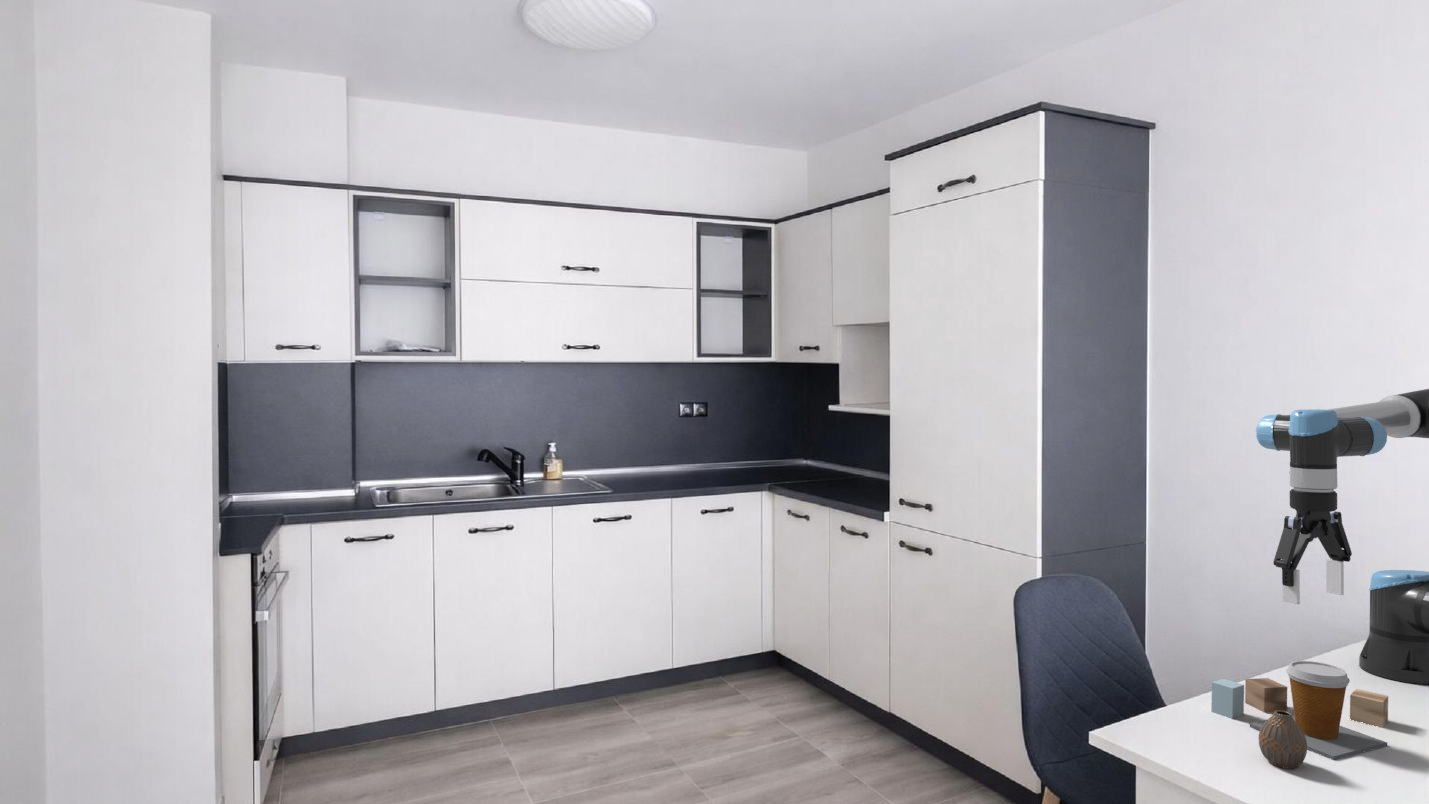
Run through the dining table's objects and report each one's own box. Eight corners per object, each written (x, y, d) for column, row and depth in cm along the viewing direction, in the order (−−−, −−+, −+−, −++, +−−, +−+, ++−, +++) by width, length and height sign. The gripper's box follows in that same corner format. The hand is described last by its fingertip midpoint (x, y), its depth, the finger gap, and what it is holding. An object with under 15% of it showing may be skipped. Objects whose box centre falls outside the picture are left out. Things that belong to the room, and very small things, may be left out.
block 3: (1355, 713, 165) (1356, 688, 165) (1387, 721, 162) (1388, 695, 162) (1349, 720, 162) (1350, 694, 162) (1382, 728, 158) (1382, 702, 158)
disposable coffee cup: (1335, 748, 148) (1336, 680, 148) (1276, 729, 156) (1277, 665, 156) (1358, 735, 153) (1358, 670, 153) (1299, 718, 161) (1299, 656, 161)
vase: (1316, 769, 141) (1317, 718, 141) (1285, 775, 139) (1286, 723, 139) (1278, 752, 148) (1279, 703, 148) (1248, 757, 146) (1249, 707, 146)
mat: (1301, 715, 164) (1301, 712, 164) (1387, 745, 150) (1387, 742, 150) (1249, 726, 159) (1249, 723, 159) (1333, 759, 145) (1333, 756, 145)
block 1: (1243, 715, 165) (1222, 708, 168) (1244, 684, 164) (1223, 678, 168) (1232, 719, 163) (1211, 712, 166) (1232, 688, 162) (1212, 682, 166)
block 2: (1267, 702, 171) (1267, 678, 171) (1286, 711, 166) (1287, 686, 166) (1245, 703, 171) (1245, 679, 171) (1264, 712, 166) (1264, 687, 166)
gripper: (1332, 482, 170) (1332, 585, 171) (1251, 492, 160) (1252, 601, 161) (1373, 486, 163) (1373, 594, 164) (1292, 496, 153) (1292, 611, 154)
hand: (1313, 598), depth 162 cm, fingers open, 13 cm apart
